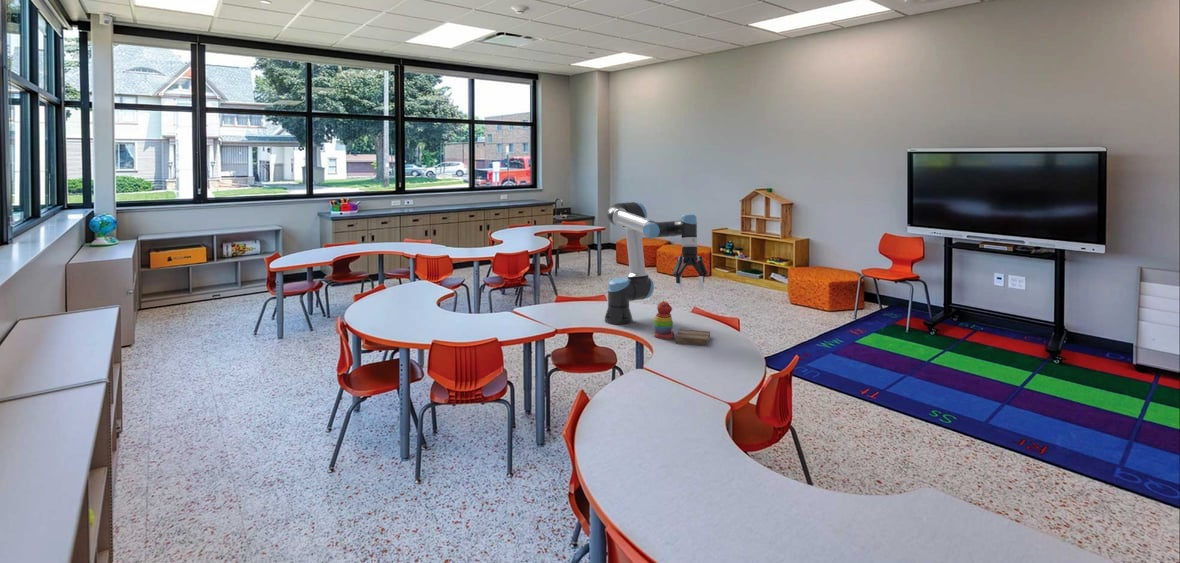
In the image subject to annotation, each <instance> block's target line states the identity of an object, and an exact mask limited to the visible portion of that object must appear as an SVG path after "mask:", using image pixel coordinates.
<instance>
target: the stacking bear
mask: <svg viewBox="0 0 1180 563" xmlns="http://www.w3.org/2000/svg"><path fill="white" fill-rule="evenodd" d="M656 308H657V313H656V314H655V317H654V320H653V328H654V334H653V337H654V338H656V339H661V340H674V335H675V332H674V331H673V325H674V324H673V322H674V321H673V318H672V314H671V312H672V311H673V307H672V306H671V305H670V303H669V302H666V301H664V300H663V301H661V302H659V303H658V304H657V307H656Z"/></svg>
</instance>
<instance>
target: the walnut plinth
mask: <svg viewBox="0 0 1180 563" xmlns="http://www.w3.org/2000/svg"><path fill="white" fill-rule="evenodd" d="M709 338H711V331H710V330H709V331H707V330H696V329H685V328H684V329H683V328H682V329H679V331H678V333H676V336H675V344H678V343H679V345H691V346H702V345H704V347H707V346H708V344H709V341H710V339H709ZM705 345H706V346H705Z"/></svg>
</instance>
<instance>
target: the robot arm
mask: <svg viewBox="0 0 1180 563" xmlns="http://www.w3.org/2000/svg"><path fill="white" fill-rule="evenodd" d="M606 212H607V213H606V217H607V220H608V221H609V222H610V223H611V224H613V225H615V226H617V227H621V226H622V229H623V230H625V235H626V236H625V237H626V246H627V255H628V256H627V258H628V266H629V269H628V270H629V274H628V275H627V277H616V278H613V279H610V280H609V281H608V285H607V310H606V312H605V315H604V322H605V321H606V322H605V323H607V322H608V324H610V323H611V325H628V324H631V323H632V322H633V315H632V312H631V309H630V302H632V301H639V300H641V301H642V300H645V299H649V298H650V297H652V295H653V293H654V290H655V289H654V288H655V284H654V281H653V278H652V279H651V277H649V274H648V273H647V272H646V267H645V266H646V265H645V255H644V244H643V235H644V236H645V238H647V239H658V238H667V237H668V238H669V237H678V236H681V246H682V247H681V256H680V255H679V256H677V257H676V262H675V266H674V267H673V268H674V269H673V272H672V276H673V277H674V278H675V283H676V284H677V285H676V288H677V291H683V277H682V276H681V275H683V273H684V271H685V269H686V268H687V267H689V266H692V267H693V268H694V269H695V271H696V272H697V274H698V276H697V277H698V291H699V290H700V291H701V290H704V284H705V277H706V276H708V272H707V268H706V266H705V264H704V260H703V257H702V256H701V255H700V256H697V254H698V221H697V216H696V214H682V215H681V216H680V220H672V221H671V220H669V221H654V220H651V219H649V218H648V213H647V209H646V207H645V205H644V204H643V203H641V202H638V201H637V202H635V201H634V202H633V201H632V202H616V203H613V204H612V205H611V206H609V208H608V210H607V211H606ZM642 234H643V235H642Z"/></svg>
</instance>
